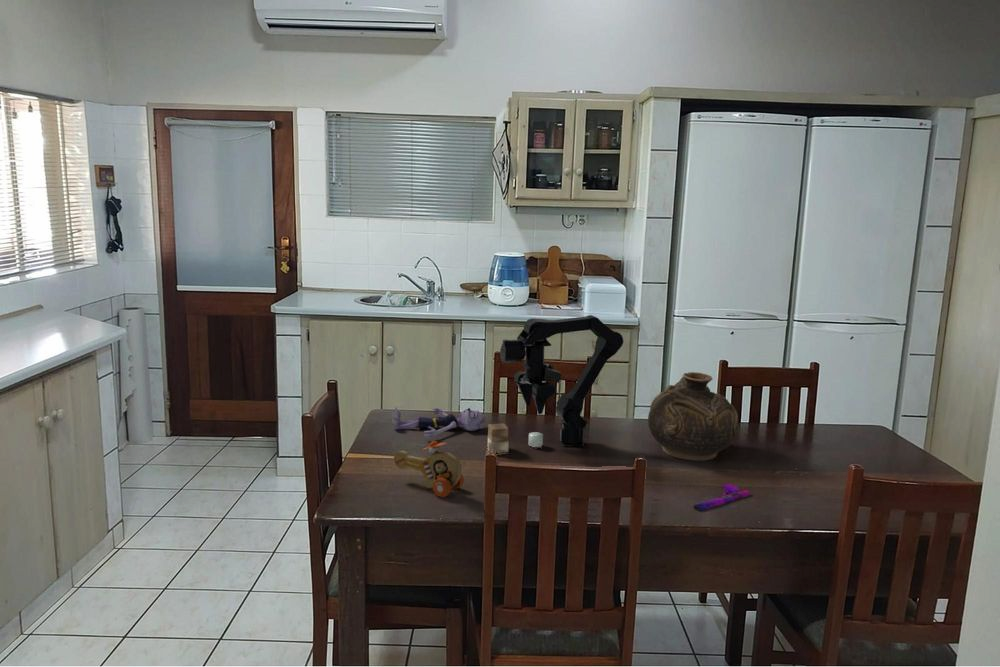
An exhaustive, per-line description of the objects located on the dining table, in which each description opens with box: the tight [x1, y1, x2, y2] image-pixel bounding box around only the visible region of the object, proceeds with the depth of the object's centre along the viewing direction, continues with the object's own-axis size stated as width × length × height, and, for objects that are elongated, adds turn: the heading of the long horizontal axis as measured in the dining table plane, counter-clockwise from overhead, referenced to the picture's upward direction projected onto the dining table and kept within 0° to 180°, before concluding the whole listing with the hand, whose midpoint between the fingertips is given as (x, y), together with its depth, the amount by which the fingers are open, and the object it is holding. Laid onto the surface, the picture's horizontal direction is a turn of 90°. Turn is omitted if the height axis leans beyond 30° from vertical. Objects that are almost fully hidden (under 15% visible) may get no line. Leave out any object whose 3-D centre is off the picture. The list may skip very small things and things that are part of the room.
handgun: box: [693, 482, 751, 512], centre depth 199 cm, size 21×8×2 cm, turn 124°
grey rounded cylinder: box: [528, 431, 544, 447], centre depth 234 cm, size 4×4×4 cm
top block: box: [487, 423, 509, 442], centre depth 228 cm, size 5×5×4 cm
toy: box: [391, 406, 487, 439], centre depth 248 cm, size 26×9×30 cm
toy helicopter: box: [393, 440, 465, 498], centre depth 200 cm, size 8×21×14 cm, turn 61°
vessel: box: [647, 371, 740, 462], centre depth 231 cm, size 27×28×25 cm
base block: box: [487, 436, 509, 453], centre depth 229 cm, size 6×6×4 cm
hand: (534, 409), depth 232 cm, fingers open, 9 cm apart
